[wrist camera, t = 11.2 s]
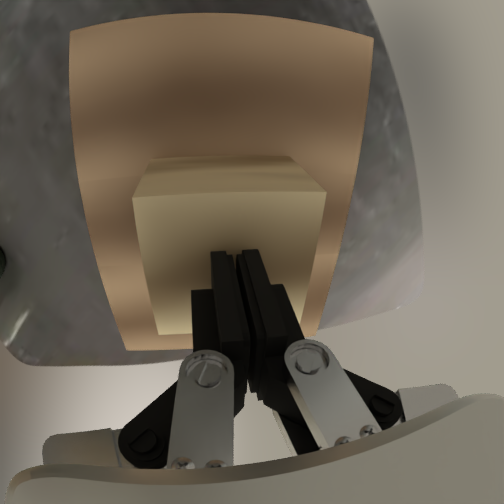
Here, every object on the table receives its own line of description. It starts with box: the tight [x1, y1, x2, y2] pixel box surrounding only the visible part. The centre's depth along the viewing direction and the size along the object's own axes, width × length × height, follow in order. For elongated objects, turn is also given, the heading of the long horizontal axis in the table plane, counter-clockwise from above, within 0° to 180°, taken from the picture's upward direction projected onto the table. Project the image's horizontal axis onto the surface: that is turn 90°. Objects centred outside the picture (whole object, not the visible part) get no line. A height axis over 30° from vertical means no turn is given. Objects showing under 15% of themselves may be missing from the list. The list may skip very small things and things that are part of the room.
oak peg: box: [132, 155, 327, 335], centre depth 15 cm, size 6×6×10 cm
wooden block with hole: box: [69, 13, 374, 350], centre depth 17 cm, size 20×14×6 cm
